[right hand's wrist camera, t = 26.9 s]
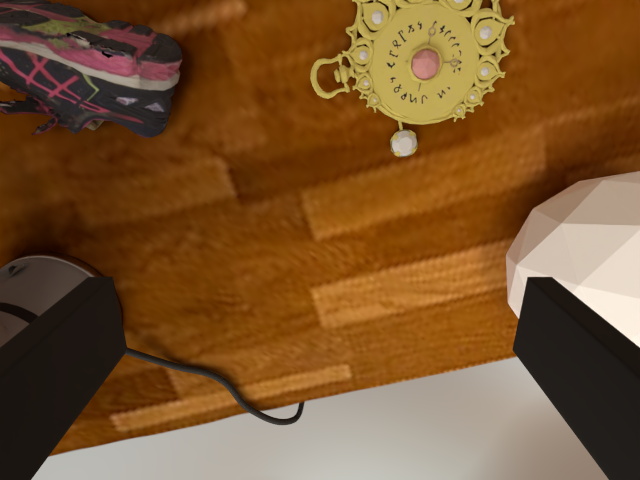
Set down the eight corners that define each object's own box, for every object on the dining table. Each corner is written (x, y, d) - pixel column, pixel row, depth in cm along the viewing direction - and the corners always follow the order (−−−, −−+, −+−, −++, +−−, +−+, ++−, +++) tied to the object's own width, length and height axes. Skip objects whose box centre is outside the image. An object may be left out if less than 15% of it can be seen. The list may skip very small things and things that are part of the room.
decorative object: (529, 126, 40) (337, 180, 41) (517, 124, 42) (335, 175, 43) (509, -125, 33) (276, -53, 33) (495, -110, 35) (278, -44, 36)
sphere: (571, 229, 53) (743, 348, 40) (452, 304, 49) (603, 462, 36) (635, 101, 38) (934, 225, 26) (473, 193, 34) (736, 392, 22)
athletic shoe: (-121, -30, 31) (-79, 124, 36) (88, 2, 25) (103, 181, 30) (25, -3, 41) (42, 115, 46) (200, 24, 35) (198, 157, 40)
